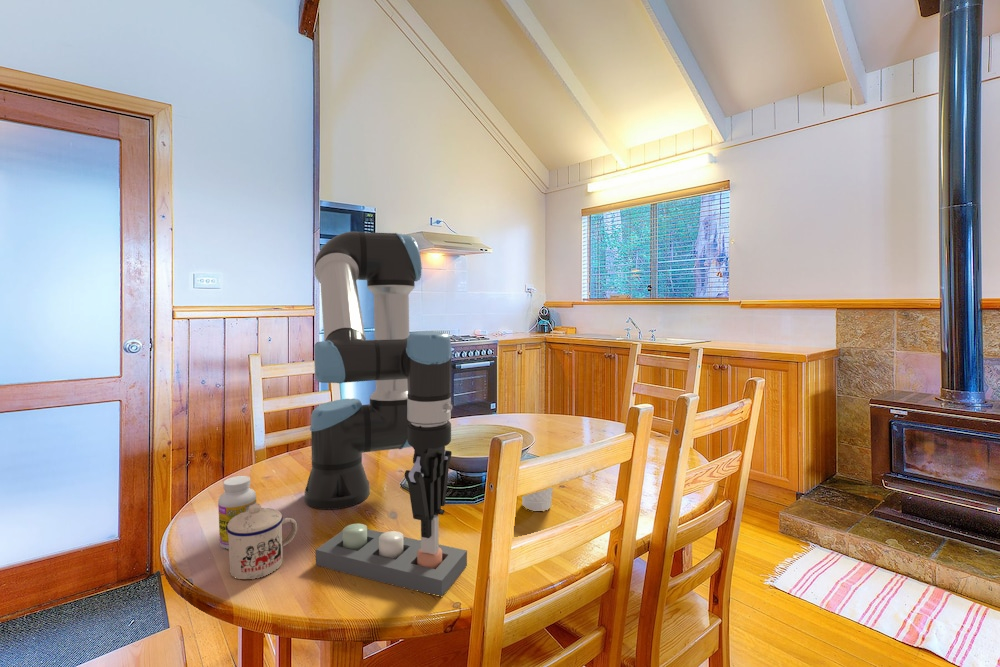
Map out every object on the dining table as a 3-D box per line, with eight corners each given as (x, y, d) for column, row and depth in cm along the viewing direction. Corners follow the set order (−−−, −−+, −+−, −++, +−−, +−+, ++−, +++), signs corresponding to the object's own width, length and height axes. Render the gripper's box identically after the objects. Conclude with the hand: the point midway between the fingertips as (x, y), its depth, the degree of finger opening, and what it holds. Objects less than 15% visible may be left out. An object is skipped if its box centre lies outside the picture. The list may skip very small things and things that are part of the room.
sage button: (338, 550, 91) (337, 532, 91) (352, 539, 95) (352, 522, 95) (357, 555, 89) (357, 536, 89) (371, 543, 93) (371, 526, 93)
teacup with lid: (239, 588, 82) (236, 522, 81) (221, 567, 89) (218, 505, 87) (307, 560, 91) (306, 500, 90) (287, 542, 97) (285, 486, 96)
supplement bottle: (211, 548, 95) (208, 484, 94) (237, 532, 101) (234, 472, 100) (241, 553, 93) (238, 488, 92) (265, 536, 100) (262, 475, 99)
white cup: (551, 515, 110) (552, 472, 110) (517, 511, 112) (518, 469, 111) (554, 500, 118) (555, 460, 117) (522, 497, 120) (523, 458, 119)
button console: (315, 565, 89) (315, 549, 89) (350, 539, 99) (350, 525, 98) (441, 597, 80) (441, 580, 80) (466, 565, 90) (467, 550, 89)
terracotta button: (412, 574, 85) (412, 555, 85) (425, 561, 90) (424, 543, 89) (434, 580, 84) (434, 561, 84) (446, 566, 88) (446, 548, 88)
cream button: (374, 559, 88) (373, 540, 88) (387, 547, 92) (387, 529, 92) (395, 564, 87) (394, 545, 86) (408, 551, 91) (407, 533, 90)
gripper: (430, 433, 77) (430, 575, 79) (464, 414, 89) (464, 538, 91) (389, 428, 79) (391, 566, 82) (428, 410, 92) (429, 530, 94)
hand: (429, 551), depth 86 cm, fingers closed
